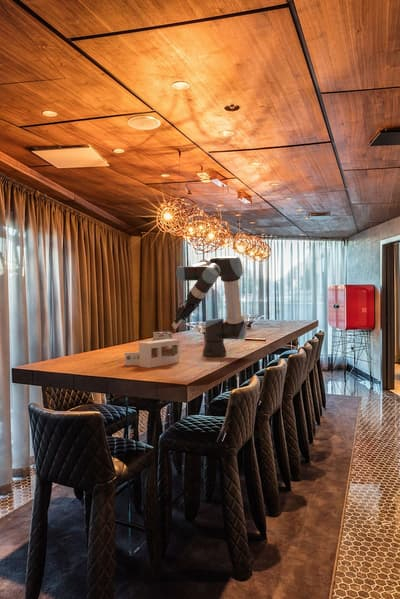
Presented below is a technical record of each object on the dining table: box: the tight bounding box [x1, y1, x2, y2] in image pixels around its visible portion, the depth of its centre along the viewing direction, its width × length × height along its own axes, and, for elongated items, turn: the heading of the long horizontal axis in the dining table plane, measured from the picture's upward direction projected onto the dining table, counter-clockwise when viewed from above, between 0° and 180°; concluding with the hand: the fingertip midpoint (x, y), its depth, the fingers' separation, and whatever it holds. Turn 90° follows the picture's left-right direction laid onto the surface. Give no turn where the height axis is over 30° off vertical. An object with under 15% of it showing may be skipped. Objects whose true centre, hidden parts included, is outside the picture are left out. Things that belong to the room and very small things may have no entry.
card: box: [124, 351, 139, 366], centre depth 257 cm, size 10×1×7 cm, turn 98°
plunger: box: [151, 348, 157, 357], centre depth 254 cm, size 4×9×4 cm, turn 51°
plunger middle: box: [162, 347, 175, 357], centre depth 256 cm, size 4×9×4 cm, turn 51°
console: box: [138, 338, 180, 369], centre depth 260 cm, size 24×8×13 cm, turn 141°
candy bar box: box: [152, 331, 173, 341], centre depth 279 cm, size 11×5×16 cm, turn 76°
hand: (174, 326), depth 243 cm, fingers closed
